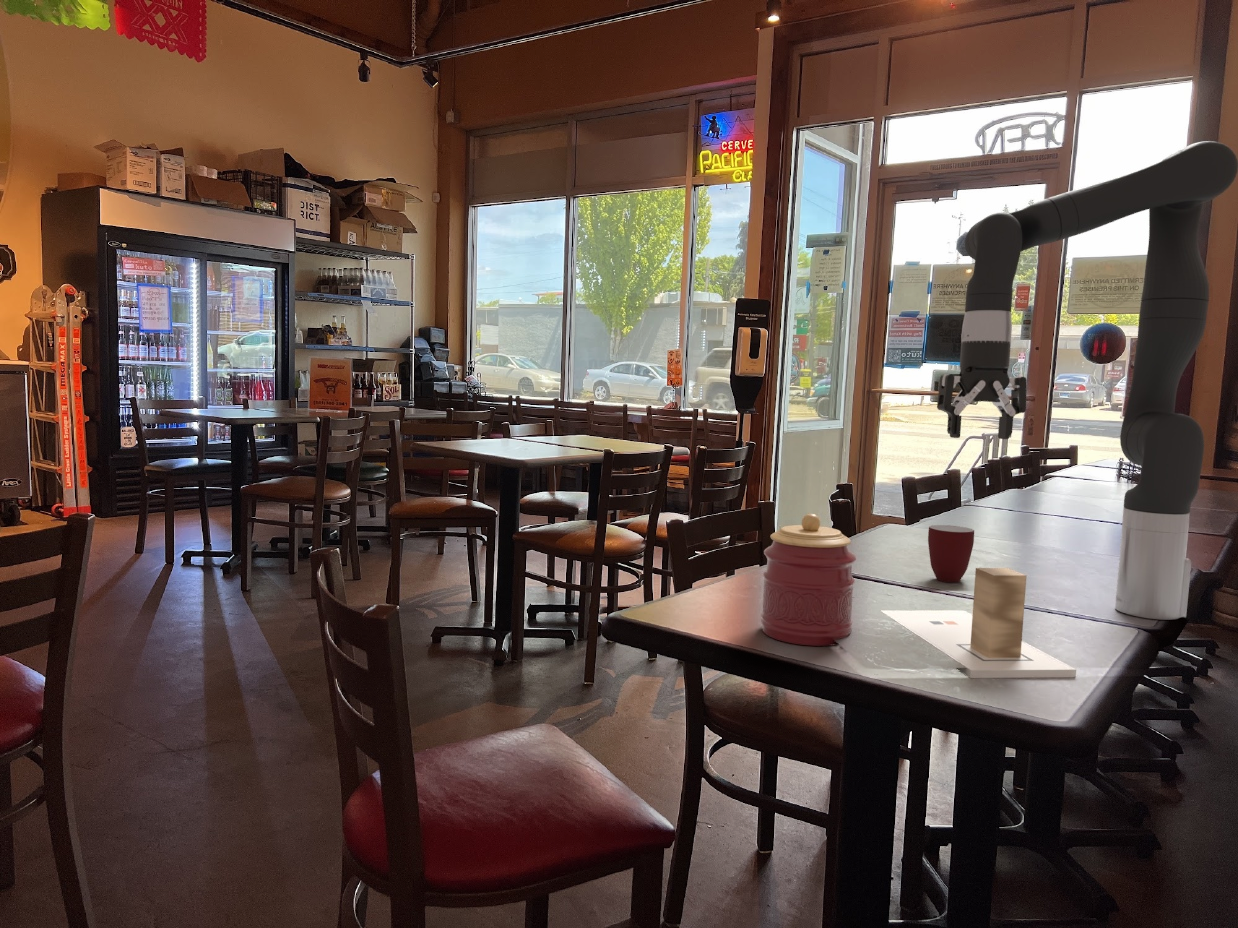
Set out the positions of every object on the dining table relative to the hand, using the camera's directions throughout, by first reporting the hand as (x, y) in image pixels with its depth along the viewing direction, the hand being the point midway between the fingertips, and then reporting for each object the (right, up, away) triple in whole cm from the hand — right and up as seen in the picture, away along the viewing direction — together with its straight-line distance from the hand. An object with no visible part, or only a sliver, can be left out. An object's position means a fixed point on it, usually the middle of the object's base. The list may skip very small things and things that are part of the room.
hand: (979, 438), depth 141 cm
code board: (-10, -30, -20) cm, 38 cm away
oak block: (-10, -30, -27) cm, 41 cm away
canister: (-33, -29, -18) cm, 47 cm away
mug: (+3, -27, +21) cm, 34 cm away
